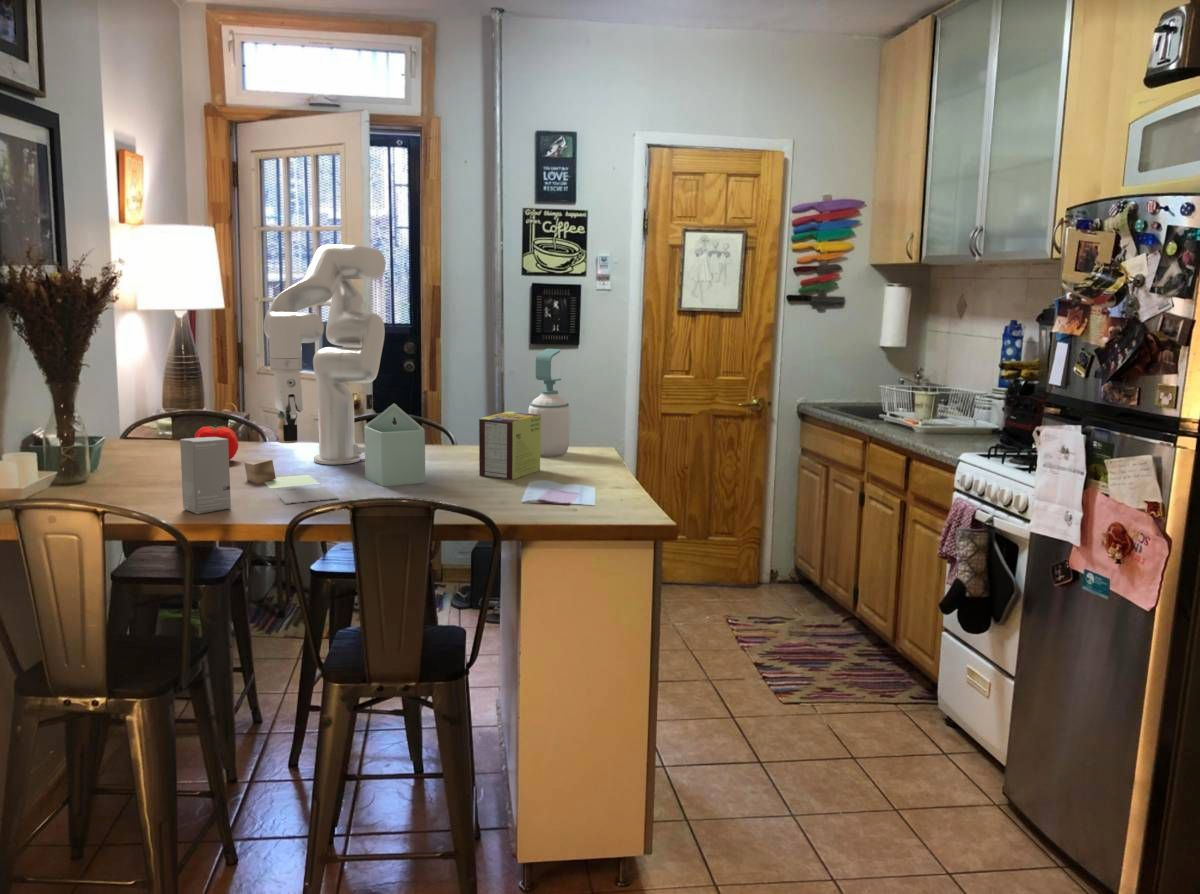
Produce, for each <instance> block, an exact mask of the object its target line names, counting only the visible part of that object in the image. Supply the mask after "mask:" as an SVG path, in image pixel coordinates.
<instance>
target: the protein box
mask: <svg viewBox="0 0 1200 894" xmlns="http://www.w3.org/2000/svg"><path fill="white" fill-rule="evenodd" d="M478 425H479V426H478V429H479V430H478V434H479V435H478V439H479V440H478V444H479V445H478V447H479V449H478V451H479V452H478V459H479V460H478V461H479V463H478V464H479V465H478V468H479V471H478V472H479V476H480V477H486V478H496V479H502V480H508V481H509V480H510V481H513V480H515V479H519V478H521V477H524V476H526V475H530V474H534V473H536V472H539V471H540V470H541V457H540V441H541V414H530V413H528V412H520V411H519V412H517V411H505V412H501V413H497V414H496V413H495V414H492V415H487V416H484V417H481V418H479V419H478Z"/></svg>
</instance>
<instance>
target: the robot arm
mask: <svg viewBox="0 0 1200 894" xmlns="http://www.w3.org/2000/svg"><path fill="white" fill-rule="evenodd" d="M385 259H386V258H385V257H384V254H383V253H382V251H381V250H379V249H377V248H373V247H368V246H363V245H360V244H359V245H357V244H356V245H355V244H324V245H321V246H320V247H318V248H317V249H316V250H315V252H314V254H313V256H312V258H311V260H310V262H309V264H308V267H307V269H306V271H305V273H304V275H303V277H302V279H301V280H300V281H298V282H296V283H294V284H292V285H291V286H289V287H288V288H287V289H285V290H283V291H281V292H280V293H279V294H277V296H276V297H274V299H273V300H272V302H271V304H270V306H269V308H268V309H267V312H266V314H265V316H264V320H263V332H264V334H265V336H266V338H267V339H268V345H269V346H268V347H269V349H268V350H269V351H268V352H269V372H273V397H274V398H273V399H274V407H275V408H276V409H277V410H278V413H284V424H285V425H283V437H284V441H297V440H298V413H302V412H303V411H304V407H303V406H304V403H303V390H302V380H301V374H300V373H301V372H302V371H303V351H302V350H303V349H302V347H303V346H302V345H303V344H311V343H315V342H318V341H320V339H321V338H322V337H323V334H324V332H325V338H326V340H327V342H328V343H330V344H332V345H334V346H327V347H323V348H320V349H318V350H317V351H316V352H315V354H314V355H313V358H312V366H313V372H314V376H315V381H316V389H317V416H318V417H317V418H318V420H317V421H318V442H319V443H318V445H319V446H318V447H319V451H318V453H319V454H317V455H315V456H313V462H315V463H316V464H321V465H333V466H334V465H347V464H354V463H358V462H360V461H361V460H362V459H361V458H362V457H361V456H362V455H361V454H362V453H364V454H365V445H359V444H357V443H356V441H355V439H356V438H355V402H354V395H353V393H352V391H351V390H350V388H349V386H348V385H347V384H346V383H349V384H350V383H355V384H370V383H373V382H374V380H376V379H377V376H378V373H379V369H380V366H381V365H380V364H381V358H382V353H383V348H384V343H385V335H386V334H385V332H386V330H385V323H384V320H383V318H382V317H381V316H380V315H379V314H377V313H374V312H367V311H366V312H364V311H362V310H363V304H364V297H363V296H362V293H361V292H360V290H359V288H358V287H357V286H356V285H355V284H354V282H353V281H352V280H367V281H373V280H374V281H375V280H379V279H380V278H382V276H383V275H384V273H385V270H386V260H385ZM330 300H331V301H330ZM329 301H330V302H331V303H330V307H329V311H328V317H327V321H326V329H325V325H324V322H323V320H322V318H321V317H320V316H319V315H317V314H315V313H312V312H299V311H303V310H306V309H310V308H312V307H316V306H319V305H321V304H324V303H326V302H329ZM297 412H298V413H297ZM287 415H288V416H287ZM296 415H297V417H296Z"/></svg>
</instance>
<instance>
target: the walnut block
mask: <svg viewBox="0 0 1200 894" xmlns="http://www.w3.org/2000/svg"><path fill="white" fill-rule="evenodd" d="M273 461H274V460H273V459H271V458H267V457H259V458H256V459H251V460H248V461H244V462H243V463H244V470H245V475H246V480H247V481H248V482H252V483H254V484H263V483H264V482H267V481H271V480H274V479H276V472H275V467H274V462H273Z"/></svg>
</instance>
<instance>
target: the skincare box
mask: <svg viewBox="0 0 1200 894" xmlns="http://www.w3.org/2000/svg"><path fill="white" fill-rule="evenodd" d="M179 443H180V445H179V446H180V463H181V465H180V468H181V486H182V487H181V489H182V508H183V510H185V511H188V512H190V513H191V512H192V513H194V514H196V515H200V514H207V513H211V512H216V511H223V510H228V509H229V510H230V509H231V508H232V507H231V505H232V504H231V475H230V460H229V447H228V439H225V438H219V437H204V438H202V437H200V438H194V437H190V438H181V439H179Z"/></svg>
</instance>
